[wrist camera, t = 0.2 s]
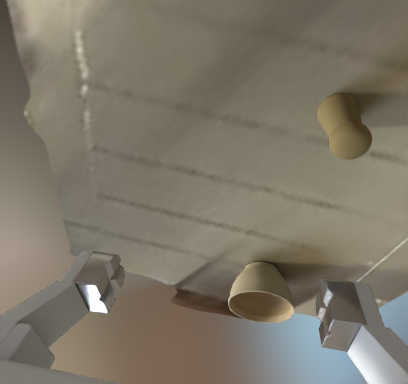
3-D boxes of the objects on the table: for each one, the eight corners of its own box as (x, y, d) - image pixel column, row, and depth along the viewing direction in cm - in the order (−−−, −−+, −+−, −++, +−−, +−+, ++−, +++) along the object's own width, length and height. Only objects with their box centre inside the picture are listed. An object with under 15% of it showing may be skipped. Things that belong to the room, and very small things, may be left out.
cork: (347, 85, 42) (366, 118, 33) (364, 114, 44) (386, 151, 36) (309, 108, 45) (319, 144, 37) (328, 135, 47) (340, 173, 39)
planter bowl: (228, 252, 74) (223, 289, 66) (291, 253, 69) (294, 293, 61) (236, 285, 84) (232, 321, 76) (291, 288, 79) (294, 326, 71)
